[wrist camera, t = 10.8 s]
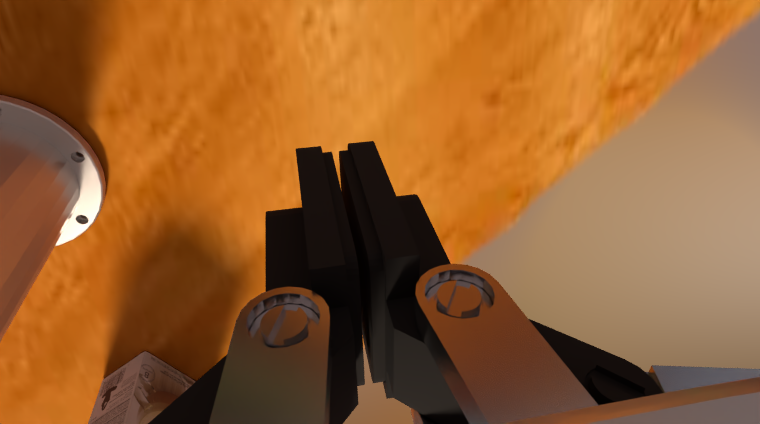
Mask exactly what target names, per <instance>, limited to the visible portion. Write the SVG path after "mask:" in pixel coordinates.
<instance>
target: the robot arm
mask: <svg viewBox="0 0 760 424" xmlns="http://www.w3.org/2000/svg"><path fill="white" fill-rule="evenodd" d="M79 152H80V153H82V154H80V153H79ZM296 156H297V164H298V173H299V182H300V191H301V200H302V207H301V208H293V209H284V210H275V211H267V212H266V292H264V293H262V294H260V295H258V296H257V297H255V298H254V299H252V300H251V301H249V302H248V304H247V305H246V306H245V307H244V308H243V309H242V310H241V312H240V314H239V316H238V318H237V320H236V324H235V327H234V331H233V335H232V339H231V342H230V346H229V350H228V354H227V355H226V356H225V357H224V358H223V359H222V360H220V361H219V362H218V363H217V364H216V365H215V366H213V367H212V368H211V369H210V370H209V371H208V372H207V373H205V374H204V375H203V376H202V377H201V378H200V379H199V380H197V381H196V382H195V383H194V384H193V385H192V386H191V387H189V388H188V389H187V390H186V391H185V392H184V393H182V394H181V395H180V396H179V397H178V398H177V399H176V400H174V401H173V402H172V403H171V404H170V405H169V406H168V407H166V408H165V409H164V410H163V411H162V412H161V413H160V414H158V415H157V416H156V417H155V418H154V419H153V420H151V421H150V422H149V423H148V424H343V422H344V421H345V420H346V419H347V418H348V416H349V415H350V414H351V412H352V411H353V410H354V409H355V407H356V406H357V405H358V391H357V386H360V385H364V384H365V379H364V359H363V340H364V344H365V349H366V354H367V358H368V363H369V368H370V372H371V377H372V381H373V383H377V382H383V384H384V389H385V393H386V397H387V398H395V399H397V400H398V401H400V402H402V403H404V404H405V405H407V406H409V407H410V408H411V415H412V418H413V422H414V424H760V369H741V368H712V367H711V368H709V367H681V366H651V368H650V370H649V372H644V371H643V370H642V369H641V368H639V367H638V366H636V365H634V364H632V363H630V362H628V361H627V360H625V359H622V358H620V357H618V356H615V355H613V354H611V353H608V352H606V351H604V350H601V349H599V348H597V347H594V346H592V345H589V344H587V343H585V342H582V341H580V340H577V339H575V338H573V337H570V336H568V335H566V334H563V333H561V332H558V331H556V330H554V329H552V328H549V327H547V326H544V325H542V324H540V323H537V322H535V321H533V320H530V319H528V318H527V317H526V316H525V314H524V313H523V312H522V311H521V309H520V308H519V307H518V306H517V304H516V303H515V302H514V301H513V300H512V298H511V297H510V296H509V295H508V293H507V292H506V291H505V290H504V289H503V287H502V286H501V285H500V284H499V282H497V280H495V279H494V278H493V277H492V276H491V275H490V274H488V273H486V272H485V271H483V270H481V269H479V268H475V267H472V266H469V265H462V264H451V263H450V261H449V259H448V257H447V255H446V253H445V251H444V249H443V247H442V245H441V243H440V241H439V238H438V236H437V234H436V232H435V230H434V228H433V226H432V224H431V222H430V220H429V218H428V216H427V213H426V211H425V209H424V207H423V205H422V203H421V201H420V199H419V197H418V196H417V195H415V194H413V195H405V196H396V195H395V192H394V190H393V187H392V185H391V182H390V180H389V177H388V175H387V173H386V170H385V168H384V165H383V163H382V160H381V158H380V156H379V153H378V151H377V148H376V146H375V143H374V142H373V141H370V142H359V143H349V144H348V150H345V151H339V162H340V177H341V188H340V184H339V180H338V176H337V172H336V168H335V163H334V159H333V155H332V152H325V153H322V149H321V146H319V147H308V148H298V149H296ZM341 191H342V192H341ZM105 192H106V183H105V177H104V172H103V169H102V167H101V164H100V162H99V159H98V157H97V156H96V154H95V153H94V151H93V150H92V148H91V147H90V145H89V144H88V143H87V142H86V141H85V140H84V138H83V137H82V136H81V135H80V134H79V133H78V132H77V131H76V130H75V129H73V128H72V127H71V126H70V125H68V124H67V123H66V122H65V121H63V120H62V119H60V118H59V117H57V116H55V115H54V114H52V113H50V112H48V111H47V110H45V109H43V108H41V107H38V106H36V105H33V104H31V103H28V102H26V101H23V100H19V99H16V98H12V97H8V96H4V95H0V341H1V340H2V338H3V336H4V334H5V333H6V331H7V329H8V327H9V326H10V324H11V322H12V320H13V319H14V317H15V315H16V313H17V312H18V310H19V308H20V306H21V305H22V303H23V301H24V299H25V297H26V296H27V294H28V292H29V290H30V289H31V287H32V285H33V283H34V282H35V280H36V278H37V276H38V275H39V273H40V271H41V269H42V268H43V266H44V264H45V262H46V261H47V259H48V257H49V255H50V254H51V252H52V250H53V248H54V247H55V246H58V245H62V244H64V243H66V242H69V241H71V240H73V239H75V238H77V237H78V236H80V235H81V234H82V233H84V232H85V231H86V230H87V229H88V228H89V227H90V226H91V225H92V224H93V223H94V222H95V220H96V218H97V216H98V214H99V213H100V211H101V208H102V205H103V203H104V200H105ZM362 335H363V339H362Z"/></svg>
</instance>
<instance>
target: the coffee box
mask: <svg viewBox="0 0 760 424" xmlns="http://www.w3.org/2000/svg"><path fill="white" fill-rule="evenodd" d="M195 382H196V381H194V380H193V379H191V378H189V377H188V376H186V375H185V374H183V373H181V372H180V371H178V370H176V369H175V368H173V367H171V366H170V365H168V364H167V363H165V362H163V361H162V360H160V359H158V358H157V357H155V356H153V355H152V354H150V353H148V352H146V351H144V352H143V353H141V354H139V355H138V356H137V357H135V358H134V359H132V360H131V361H129V362H128V363H126V364H125V365H123V366H122V367H121V368H119V369H118V370H116V371H115V372H113V373H112V374H110V375H109V376H108V377H106V378H105V379H103V381H102V384H101V387H100V390H99V393H98V396H97V399H96V402H95V405H94V408H93V411H92V414H91V417H90V420H89V422H88V424H148V423H149V422H150V421H151V420H153V419H154V418H155V417H156V416H157V415H158V414H160V413H161V412H162V411H163V410H164V409H165V408H166V407H168V406H169V405H170V404H171V403H172V402H173V401H174V400H176V399H177V398H178V397H179V396H180V395H181V394H182V393H184V392H185V391H186V390H187V389H188V388H189V387H191V386H192V385H193V384H194V383H195Z"/></svg>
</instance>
